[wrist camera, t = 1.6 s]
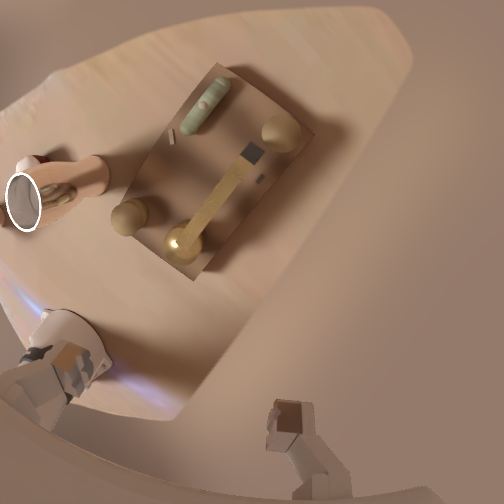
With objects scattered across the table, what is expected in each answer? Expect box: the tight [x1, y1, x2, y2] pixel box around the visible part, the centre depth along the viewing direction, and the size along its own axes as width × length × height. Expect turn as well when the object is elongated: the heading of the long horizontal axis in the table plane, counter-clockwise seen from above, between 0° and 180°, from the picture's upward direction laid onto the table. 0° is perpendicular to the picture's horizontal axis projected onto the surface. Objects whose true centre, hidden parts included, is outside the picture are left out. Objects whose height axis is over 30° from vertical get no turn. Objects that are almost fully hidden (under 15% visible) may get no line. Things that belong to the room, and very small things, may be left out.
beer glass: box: [6, 156, 110, 232], centre depth 28 cm, size 7×7×15 cm
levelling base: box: [111, 63, 315, 281], centre depth 32 cm, size 24×14×6 cm, turn 142°
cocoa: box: [16, 155, 50, 173], centre depth 30 cm, size 10×6×12 cm, turn 39°
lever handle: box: [162, 141, 265, 266], centre depth 30 cm, size 16×4×5 cm, turn 142°
